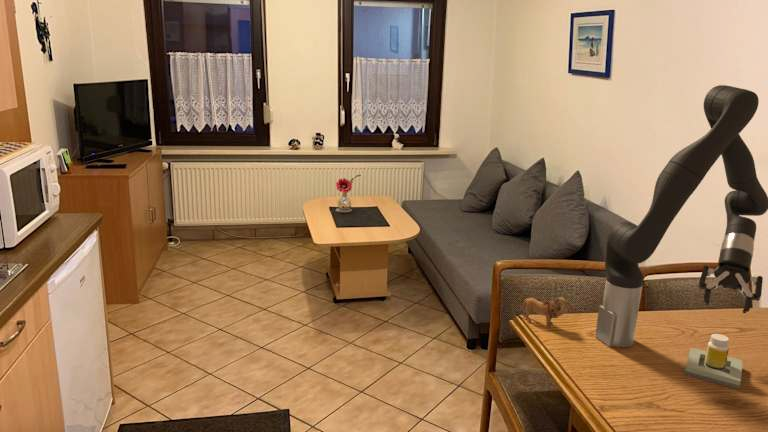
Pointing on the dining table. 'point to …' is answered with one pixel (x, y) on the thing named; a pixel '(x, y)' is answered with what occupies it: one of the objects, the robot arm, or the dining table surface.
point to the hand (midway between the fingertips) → (725, 307)
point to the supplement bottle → (717, 352)
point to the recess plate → (726, 377)
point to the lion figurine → (545, 309)
